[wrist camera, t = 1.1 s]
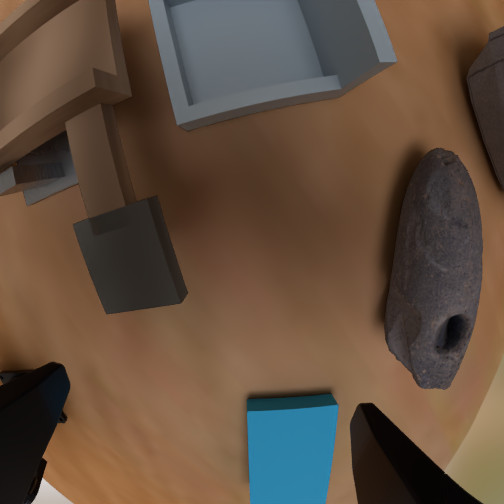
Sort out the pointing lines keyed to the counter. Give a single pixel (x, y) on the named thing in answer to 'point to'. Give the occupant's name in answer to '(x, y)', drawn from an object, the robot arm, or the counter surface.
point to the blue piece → (291, 448)
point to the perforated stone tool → (435, 271)
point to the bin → (264, 53)
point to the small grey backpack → (490, 98)
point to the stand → (41, 171)
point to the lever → (86, 142)
